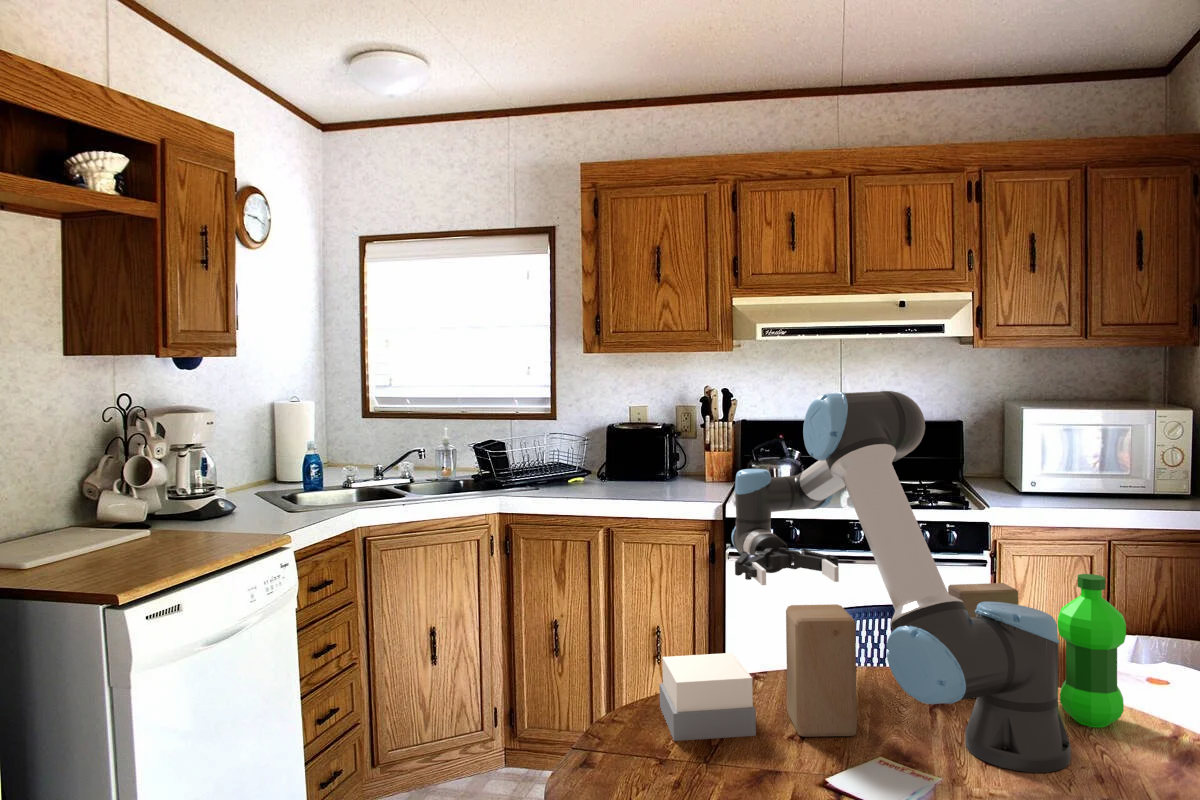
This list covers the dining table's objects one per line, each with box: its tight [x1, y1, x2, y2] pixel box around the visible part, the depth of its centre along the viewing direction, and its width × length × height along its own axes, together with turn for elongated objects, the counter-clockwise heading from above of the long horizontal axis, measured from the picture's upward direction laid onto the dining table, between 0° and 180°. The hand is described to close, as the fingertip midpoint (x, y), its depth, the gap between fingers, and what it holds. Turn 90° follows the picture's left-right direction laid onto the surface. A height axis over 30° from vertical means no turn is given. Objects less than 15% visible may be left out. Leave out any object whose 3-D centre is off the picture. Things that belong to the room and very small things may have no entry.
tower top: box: [661, 652, 754, 712], centre depth 152 cm, size 13×13×5 cm
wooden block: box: [785, 603, 858, 738], centre depth 149 cm, size 10×10×20 cm
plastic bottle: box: [1057, 573, 1127, 729], centre depth 148 cm, size 10×10×25 cm
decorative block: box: [947, 582, 1019, 699], centre depth 162 cm, size 11×6×20 cm, turn 91°
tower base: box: [659, 682, 757, 742], centre depth 152 cm, size 14×14×5 cm
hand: (800, 576), depth 158 cm, fingers open, 13 cm apart
